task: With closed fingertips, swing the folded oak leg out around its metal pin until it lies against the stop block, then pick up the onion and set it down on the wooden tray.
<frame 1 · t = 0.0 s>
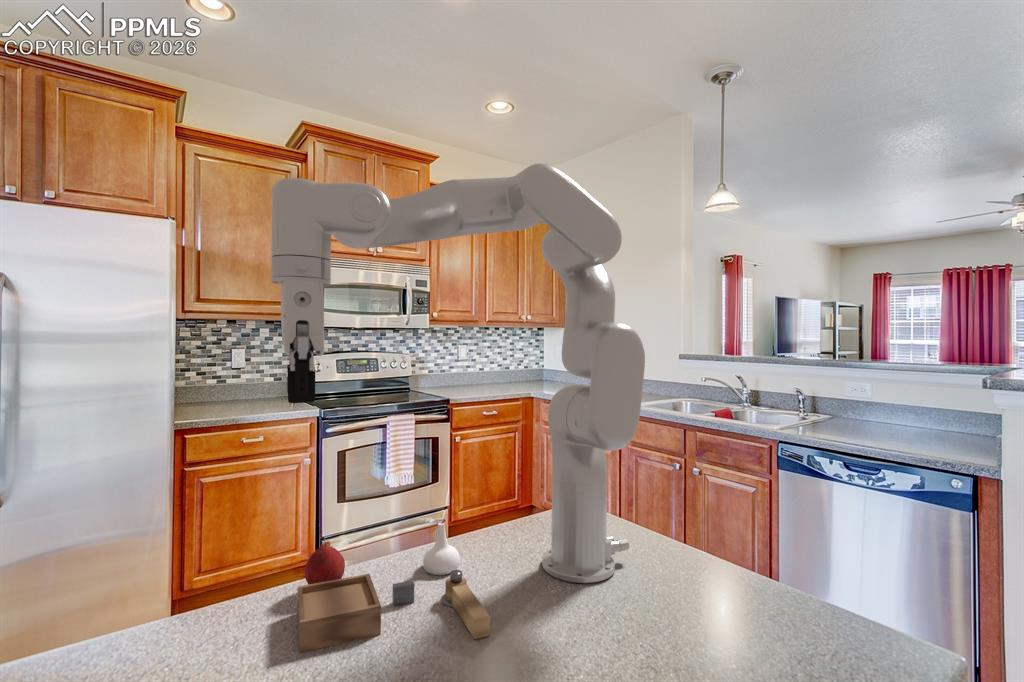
hand: (300, 398, 69), 31 cm above the countertop, tool pointing down, fingers open, 9 cm apart
leg: (466, 604, 72), point 2 cm above the countertop, hinge at 90.0°
onion: (324, 594, 78), on the countertop
wooden tray: (337, 623, 69), on the countertop
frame: (455, 599, 76), on the countertop
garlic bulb: (441, 569, 86), on the countertop
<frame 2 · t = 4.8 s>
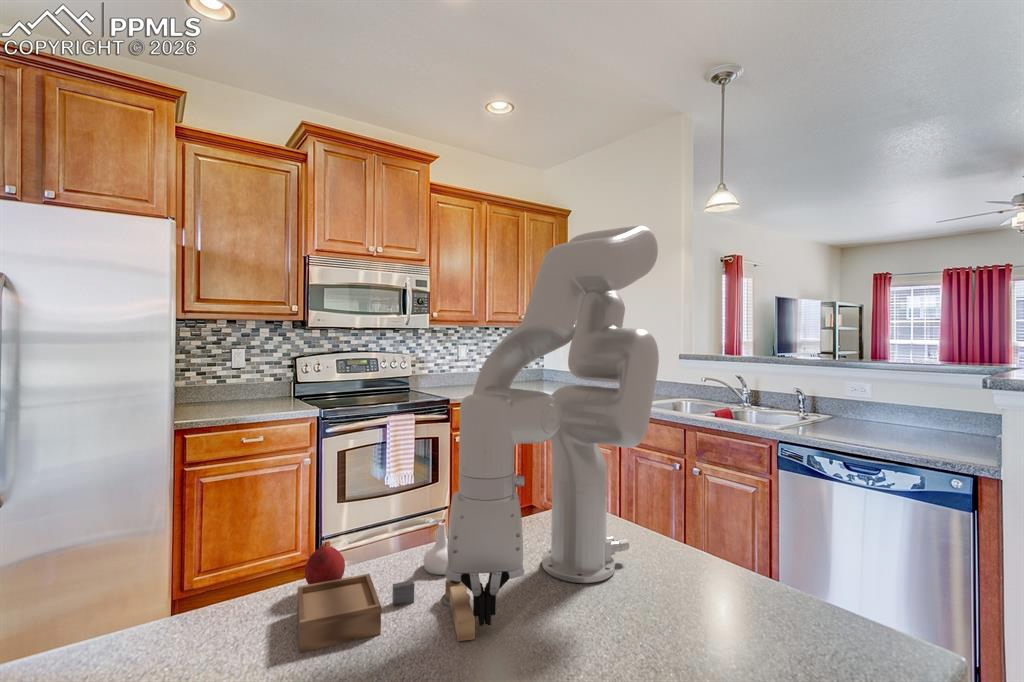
hand: (484, 619, 68), 1 cm above the countertop, tool pointing down, fingers closed
leg: (460, 605, 71), point 2 cm above the countertop, hinge at 78.8°, touching gripper
everything else where it was.
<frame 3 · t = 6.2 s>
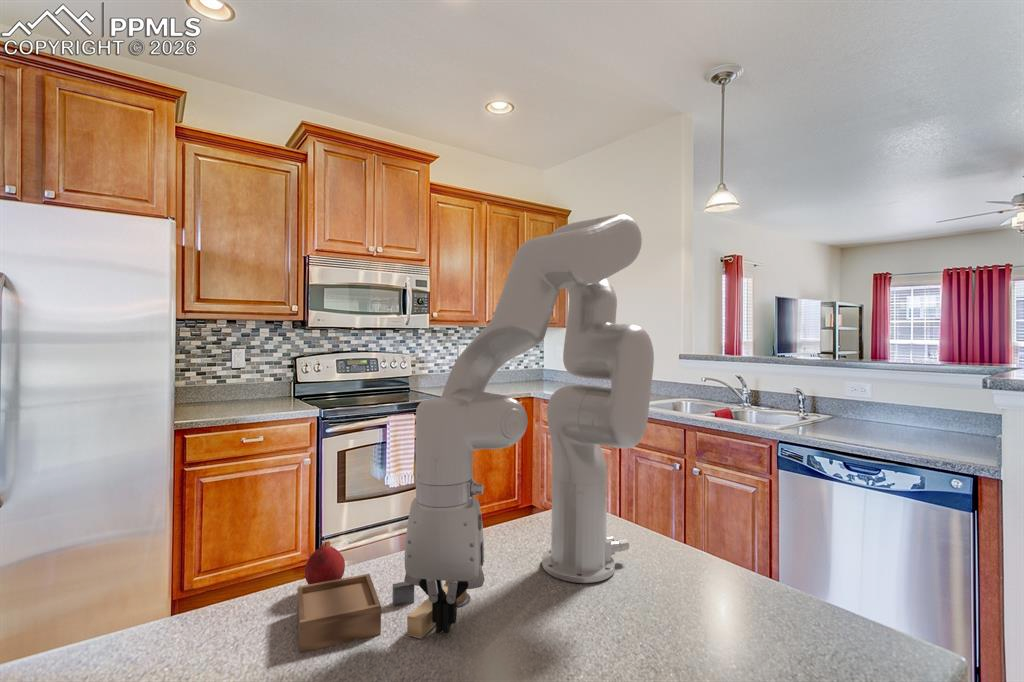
hand: (444, 627, 67), 1 cm above the countertop, tool pointing down, fingers closed
leg: (439, 604, 72), point 2 cm above the countertop, hinge at 41.9°, touching gripper
everything else where it was.
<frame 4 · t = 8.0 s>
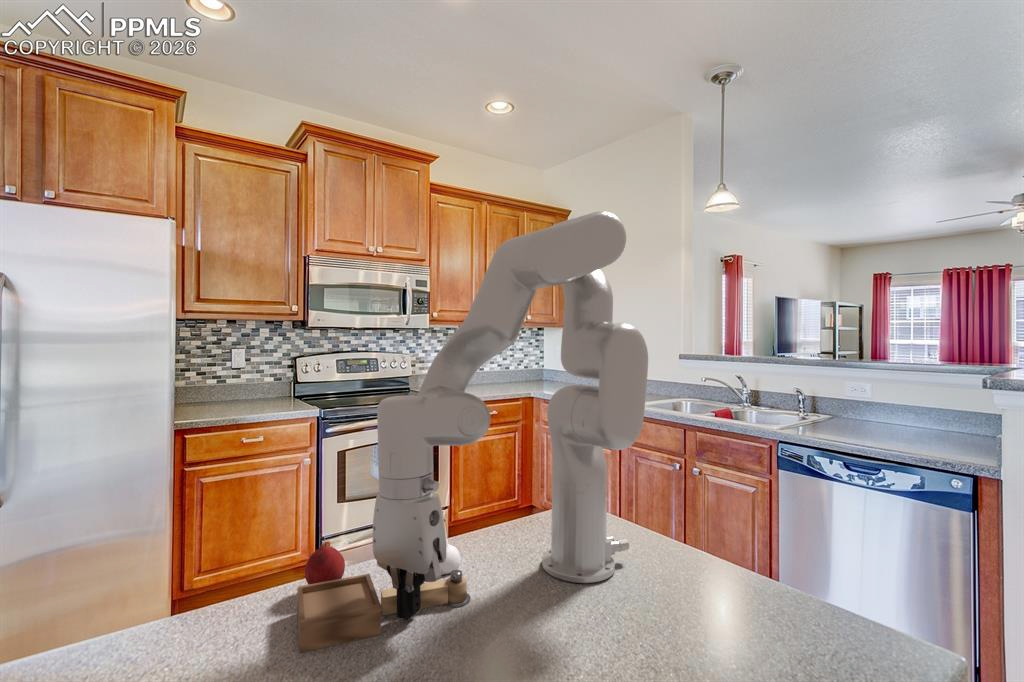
hand: (409, 614, 70), 1 cm above the countertop, tool pointing down, fingers closed
leg: (425, 594, 74), point 2 cm above the countertop, hinge at -3.1°, touching gripper
everything else where it was.
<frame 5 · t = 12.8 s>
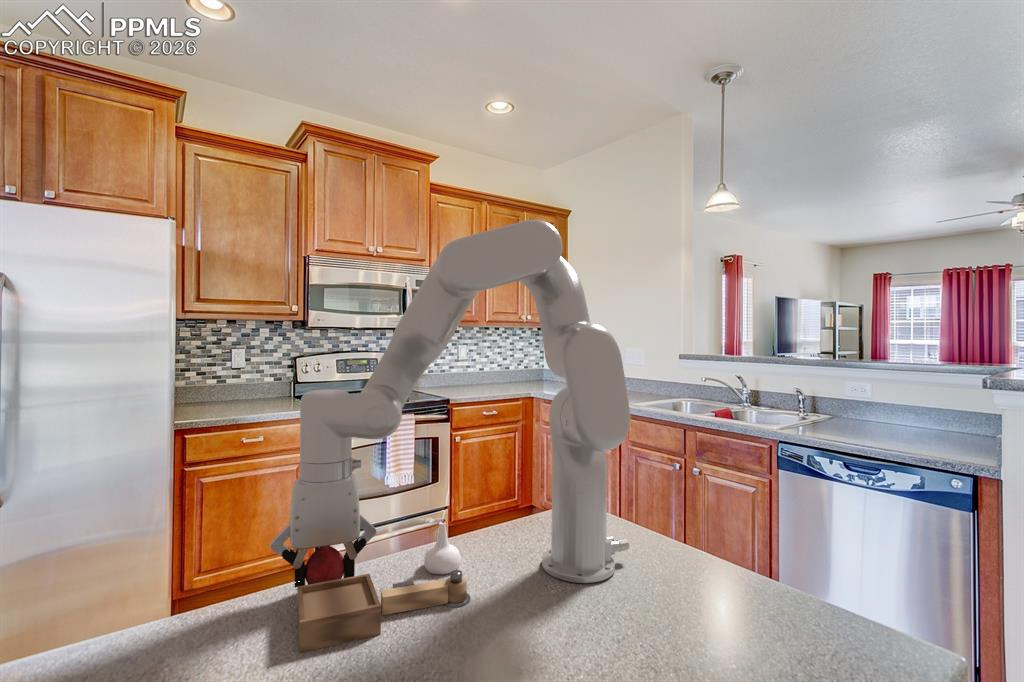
hand: (324, 585, 78), 1 cm above the countertop, tool pointing down, fingers closed on onion, 5 cm apart
leg: (425, 594, 74), point 2 cm above the countertop, hinge at -3.2°
onion: (324, 594, 78), on the countertop, touching gripper
everything else where it was.
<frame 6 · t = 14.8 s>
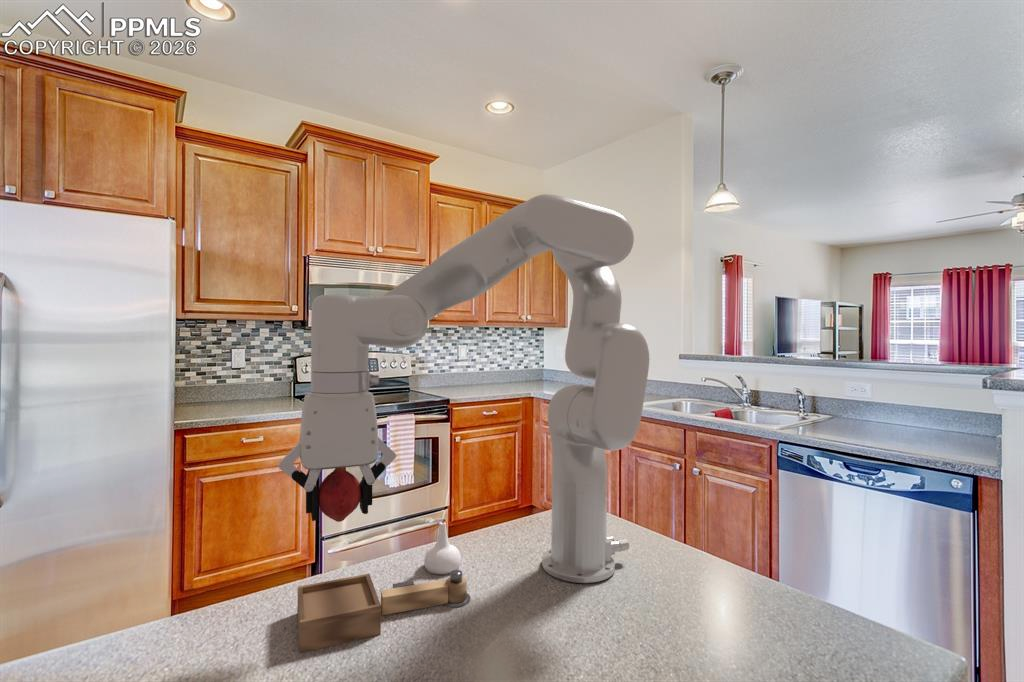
hand: (339, 512, 69), 15 cm above the countertop, tool pointing down, fingers closed on onion, 5 cm apart
onion: (339, 523, 69), point 14 cm above the countertop, touching gripper
everything else where it was.
when the fingers open (6 cm above the countertop, at t = 17.0 s): onion drops 1 cm, resting on wooden tray.
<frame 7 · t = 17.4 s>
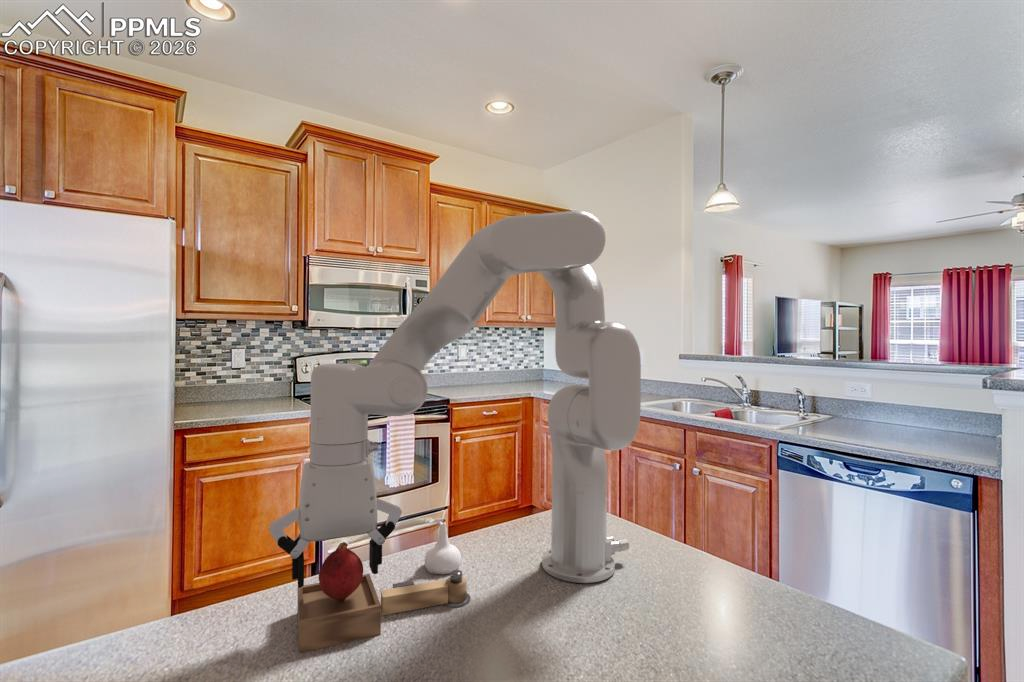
hand: (338, 576, 69), 6 cm above the countertop, tool pointing down, fingers open, 9 cm apart
onion: (340, 602, 70), point 3 cm above the countertop, touching wooden tray
everything else where it was.
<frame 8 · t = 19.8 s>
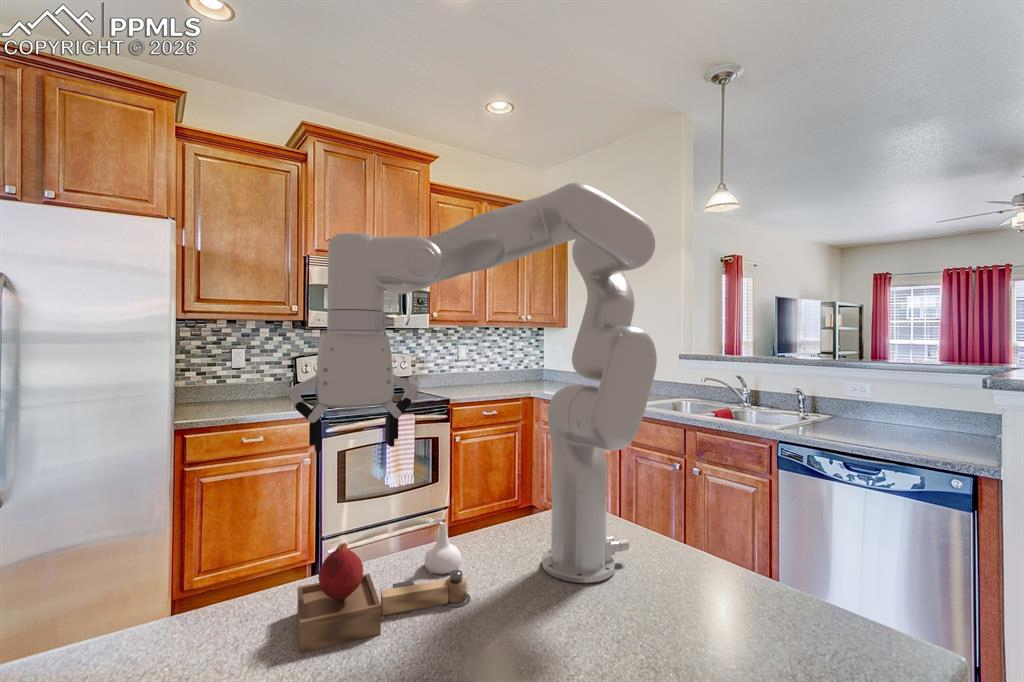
hand: (354, 447, 70), 24 cm above the countertop, tool pointing down, fingers open, 9 cm apart
nothing on the countertop moved.
at the end: leg at -3° (first picture: +90°); onion inside the target area on the wooden tray (0.4 cm from its centre), point 2.8 cm above the wooden tray's base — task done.
